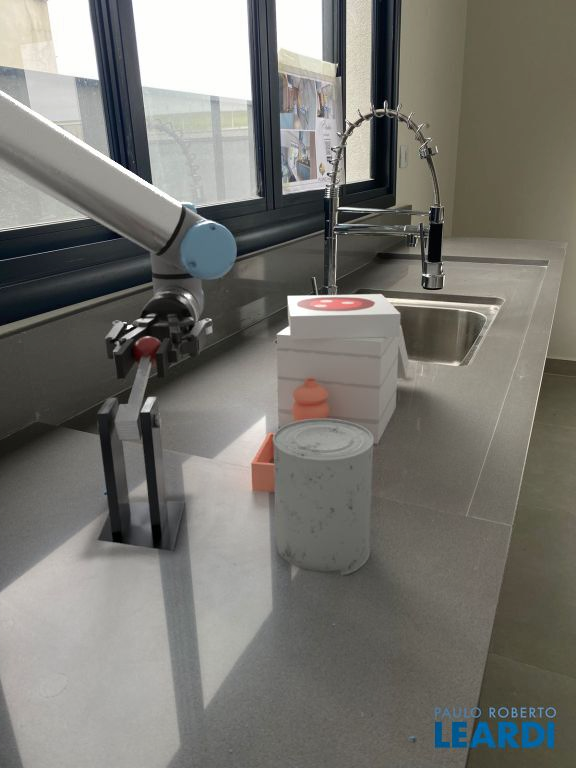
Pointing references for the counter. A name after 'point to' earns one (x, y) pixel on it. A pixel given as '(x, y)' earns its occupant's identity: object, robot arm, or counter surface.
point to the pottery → (305, 407)
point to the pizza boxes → (343, 357)
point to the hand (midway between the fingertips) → (139, 365)
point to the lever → (137, 390)
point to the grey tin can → (323, 494)
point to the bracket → (158, 516)
